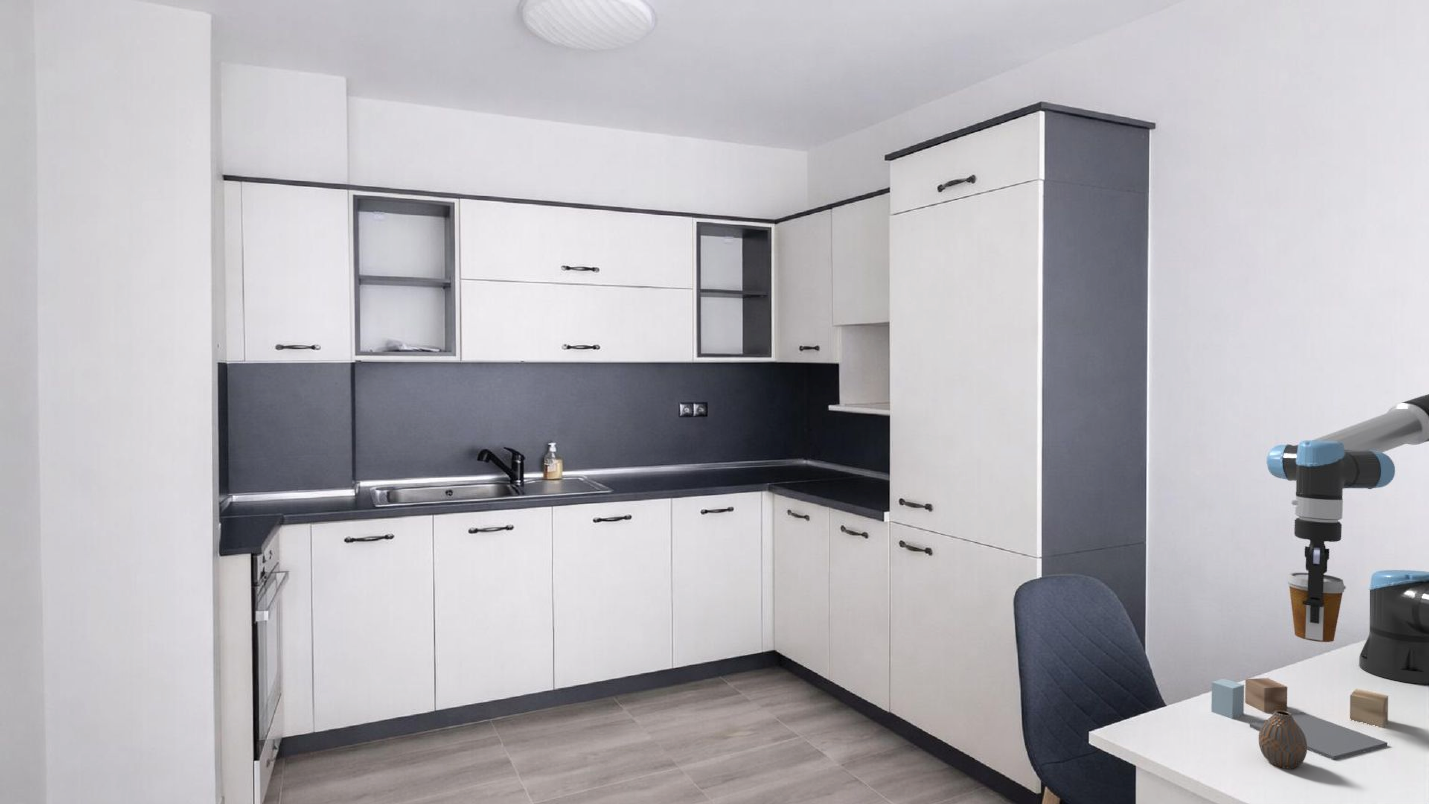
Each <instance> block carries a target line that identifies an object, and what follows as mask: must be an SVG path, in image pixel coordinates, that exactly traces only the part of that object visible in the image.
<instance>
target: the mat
mask: <svg viewBox="0 0 1429 804" xmlns="http://www.w3.org/2000/svg"><path fill="white" fill-rule="evenodd" d="M1291 715H1292V717H1293V719H1294V721H1295V722H1296V723H1297V724H1298V726H1299V727H1300V728H1301V730H1302V731H1303V733H1304V735H1305V738H1306V741H1307V751H1311V752H1312V751H1313V753H1316V754H1318V755H1320V754H1321V756H1323V757H1326V758H1328V759H1330V758H1331V760H1332V761H1333V760H1338V759H1342V758H1346V757H1349V756H1350V757H1351V756H1353V754H1354V755H1358V754H1360V753H1365V752H1369V751H1373V750H1376V748H1377V749H1380V748H1384V747H1388V741H1384V740H1382V739H1379V738H1376V737H1373V736H1370V735H1368V734H1365V733H1361V732H1359V731H1356V730H1353V729H1351V728H1348V727H1346V726H1343V725H1339V724H1337V723H1334V722H1332V721H1328V720H1326V719H1323V718H1320V717H1318V716H1314V715H1311V714H1309V713H1307V712H1306V713H1305V712H1304V711H1301V712H1296V713H1291ZM1267 720H1268V719H1264V720H1259V721H1255V722H1251V723H1249V728H1253V729H1254V730H1256V731H1259V732H1260V729H1261V727H1262V725H1263V724H1264V723H1265V722H1266V721H1267ZM1372 749H1373V750H1372ZM1364 751H1365V752H1364ZM1341 757H1342V758H1341Z"/></svg>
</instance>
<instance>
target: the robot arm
mask: <svg viewBox="0 0 1429 804" xmlns="http://www.w3.org/2000/svg"><path fill="white" fill-rule="evenodd" d="M1426 442H1429V393H1428V394H1425V395H1424V394H1423V395H1421V396H1418V397H1415V398H1411V399H1409V400H1405V401H1402V402H1401V403H1398V404H1395V405H1393V406H1392V407H1390V408H1388V411H1387V412H1386V413H1384V414H1380V415H1379V416H1375V417H1372V418H1370V419H1367V420H1365V421H1362V422H1361V421H1360V422H1359V423H1356V424H1354V425H1350V426H1348V427H1345V428H1342V429H1340V430H1337V431H1334V432H1331V433H1328V434H1326V435H1323V436H1321V437H1318V438H1314V439H1312V440H1302V441H1300V442H1298V444H1295V445H1293V444H1278V445H1276V446H1274V447H1272V448H1271V449H1270V450H1269V452H1268V453H1267V456H1266V466H1267V470H1268V471H1269V473H1270V474H1271V475H1272V476H1273V477H1275V478H1276V479H1282V480H1287V481H1290V482H1295V484H1296V485H1295V499H1293V500H1292V501H1291V504H1292V505H1293V506H1295V510H1294V511H1295V513H1294V514H1295V515H1296V516H1297V518H1295V519H1294V536H1295V537H1296V538H1298V539H1301V540H1307V541H1308V540H1309V544H1308V546H1307V545H1305V546H1304V558H1305V570H1306V571H1307V573H1308V596H1307V599H1306V601H1303V605H1306V634H1305V638H1308V639H1315V640H1321V641H1323V612H1324V606H1323V605H1324V601H1323V584H1324V575H1325V573H1327V572H1328V561H1329V560H1330V548H1326V547H1327V546H1326V544H1325V542H1327V543H1328V542H1329V543H1336V542H1340V541H1341V539H1342V526H1343V525H1342V523H1341V522H1340V520H1342V519H1343V506H1344V504H1343V503H1344V501H1343V500H1344V499H1343V490H1345V489H1367V490H1373V489H1376V488H1377V489H1380V488H1384V487H1386V486H1387V485H1389V484H1390V483H1391V482H1392V481H1393V480H1394V478H1395V474H1396V467H1395V463H1394V461H1393V460H1392V458H1391V457H1390V456H1389V455H1388V454H1386V453H1385V452H1388V451H1390V450H1393V449H1396V448H1398V447H1401V446H1403V445H1411V446H1412V445H1413V446H1415V445H1420V444H1423V443H1426ZM1368 590H1369V631H1368V632H1369V634H1368V636H1367V638H1366V641H1365V642H1364V646H1363V647H1362V649H1361V652H1360V653H1359V656H1358V661H1359V663H1358V667H1360V668H1361V670H1363V671H1365V672H1367V673H1369V674H1372V675H1374V676H1377V677H1381V678H1384V679H1389V680H1394V681H1396V682H1397V681H1399V682H1404V683H1409V684H1410V683H1412V684H1419V685H1421V684H1422V685H1429V571H1424V570H1423V571H1422V570H1411V569H1409V570H1408V569H1407V570H1404V569H1401V570H1400V569H1399V570H1398V569H1391V570H1390V569H1387V570H1386V569H1385V570H1379V571H1375V572H1373V573H1372V575H1371V578H1370V586H1369V588H1368ZM1311 597H1314V598H1311ZM1317 598H1319V599H1317Z"/></svg>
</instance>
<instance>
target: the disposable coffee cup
mask: <svg viewBox="0 0 1429 804" xmlns="http://www.w3.org/2000/svg"><path fill="white" fill-rule="evenodd" d="M1286 582H1287V586H1288V587H1289V594H1290V595H1289V596H1290V605H1291V612H1292V613H1291V614H1292V622H1293V629H1294V635H1295V636H1296V637H1298V638H1300V639H1303V640H1307V641H1311V642H1312V641H1313V642H1319V643H1333V642H1334V641H1335V638H1336V637H1335V636H1336V629H1337V625H1338V620H1339V614H1340V608H1341V605H1342V599H1343V595H1344V594H1343V593H1344V592H1345V590H1346V588H1347V587H1346V585H1344V584H1345V583H1344V580H1343V579H1342V578H1339V577H1337V576H1333V575H1328V574H1324V584H1323V601H1324V605H1323V606H1324V612H1323V641H1321V640H1315V639H1308V638H1305V634H1306V605H1303V601H1306V599H1307V596H1308V572H1301V571H1299V572H1297V571H1296V572H1290V573H1289V575H1288V578H1287V579H1286ZM1311 598H1314V597H1311ZM1317 599H1319V598H1317Z"/></svg>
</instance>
